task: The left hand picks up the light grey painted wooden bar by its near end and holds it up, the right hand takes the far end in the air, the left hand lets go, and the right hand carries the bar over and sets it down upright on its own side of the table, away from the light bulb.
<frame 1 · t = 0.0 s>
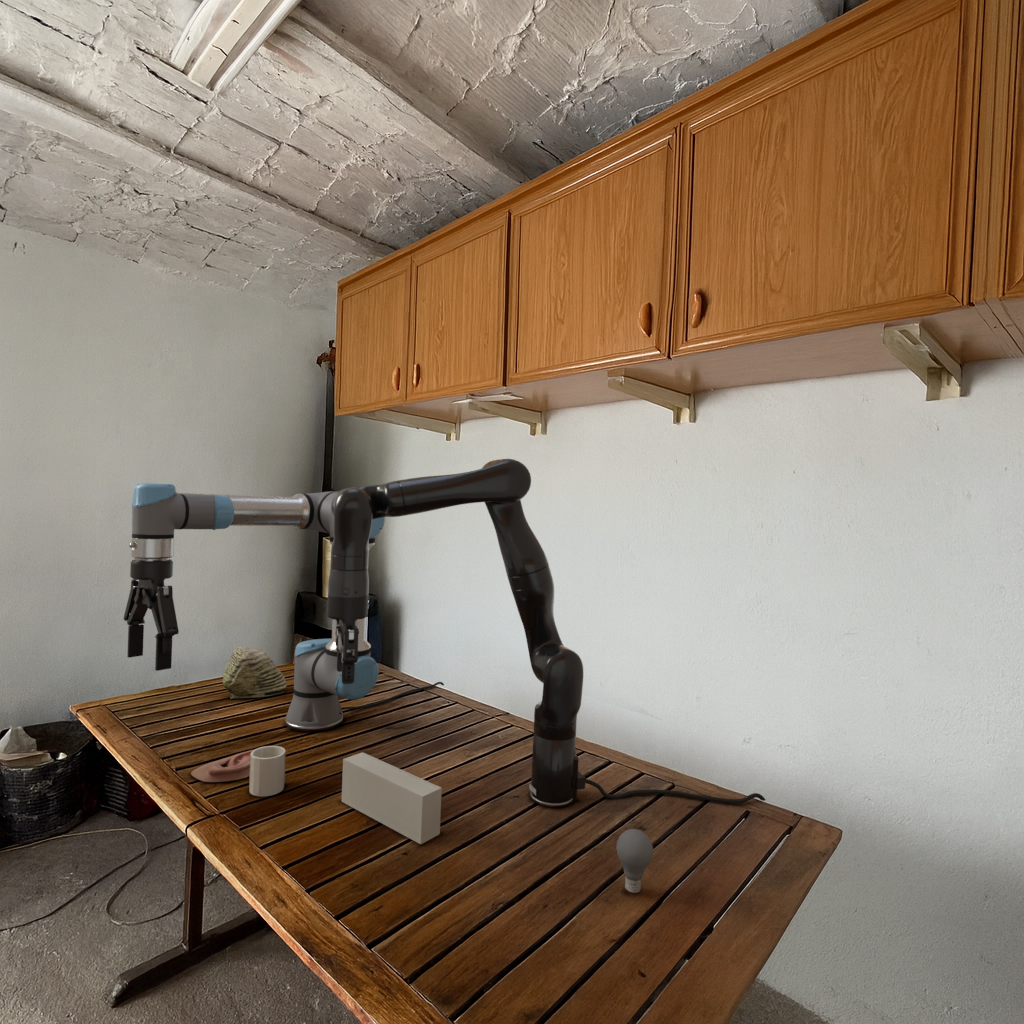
left hand: (148, 662, 129), 28 cm above the table, fingers open, 13 cm apart
right hand: (345, 677, 121), 29 cm above the table, fingers open, 8 cm apart
light bulb: (632, 891, 106), on the table
grey bar: (388, 817, 127), on the table
anatomical model: (225, 772, 143), on the table
white cup: (266, 788, 136), on the table
fossil: (254, 694, 198), on the table
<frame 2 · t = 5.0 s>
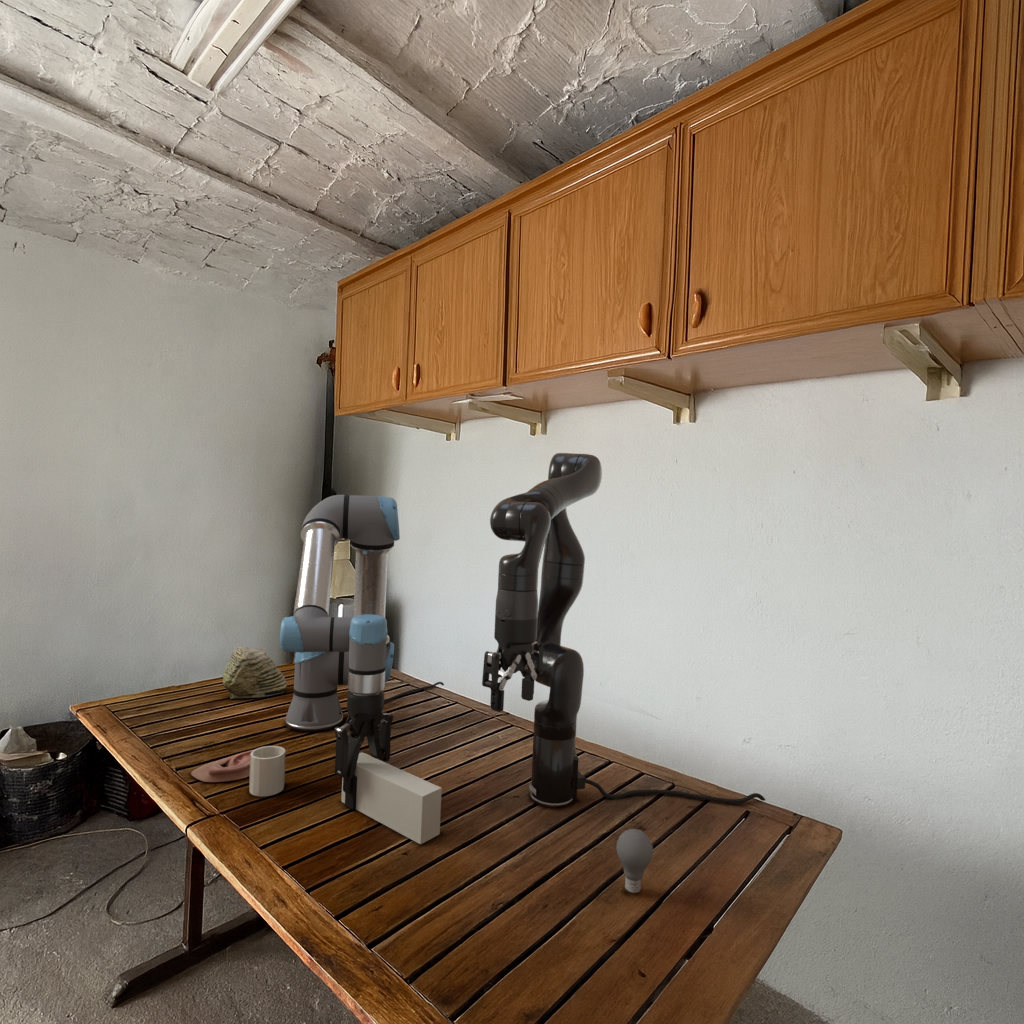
left hand: (361, 801, 132), 0 cm above the table, fingers closed on grey bar, 5 cm apart
right hand: (512, 705, 112), 28 cm above the table, fingers open, 8 cm apart
grey bar: (388, 817, 127), on the table, touching left hand
everything else where it was.
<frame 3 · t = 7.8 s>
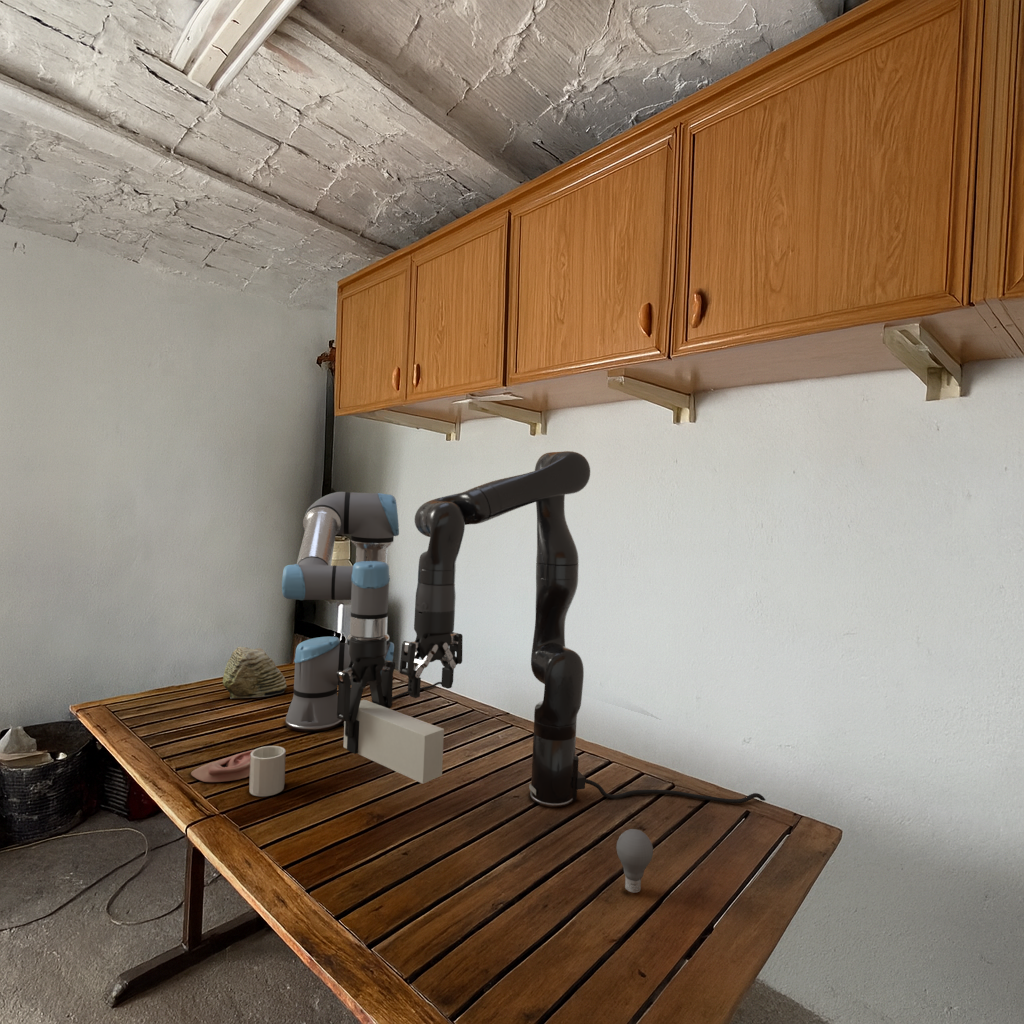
left hand: (363, 747, 132), 12 cm above the table, fingers closed on grey bar, 5 cm apart
right hand: (430, 692, 120), 27 cm above the table, fingers open, 8 cm apart
grey bar: (390, 760, 126), point 11 cm above the table, touching left hand
everything else where it was.
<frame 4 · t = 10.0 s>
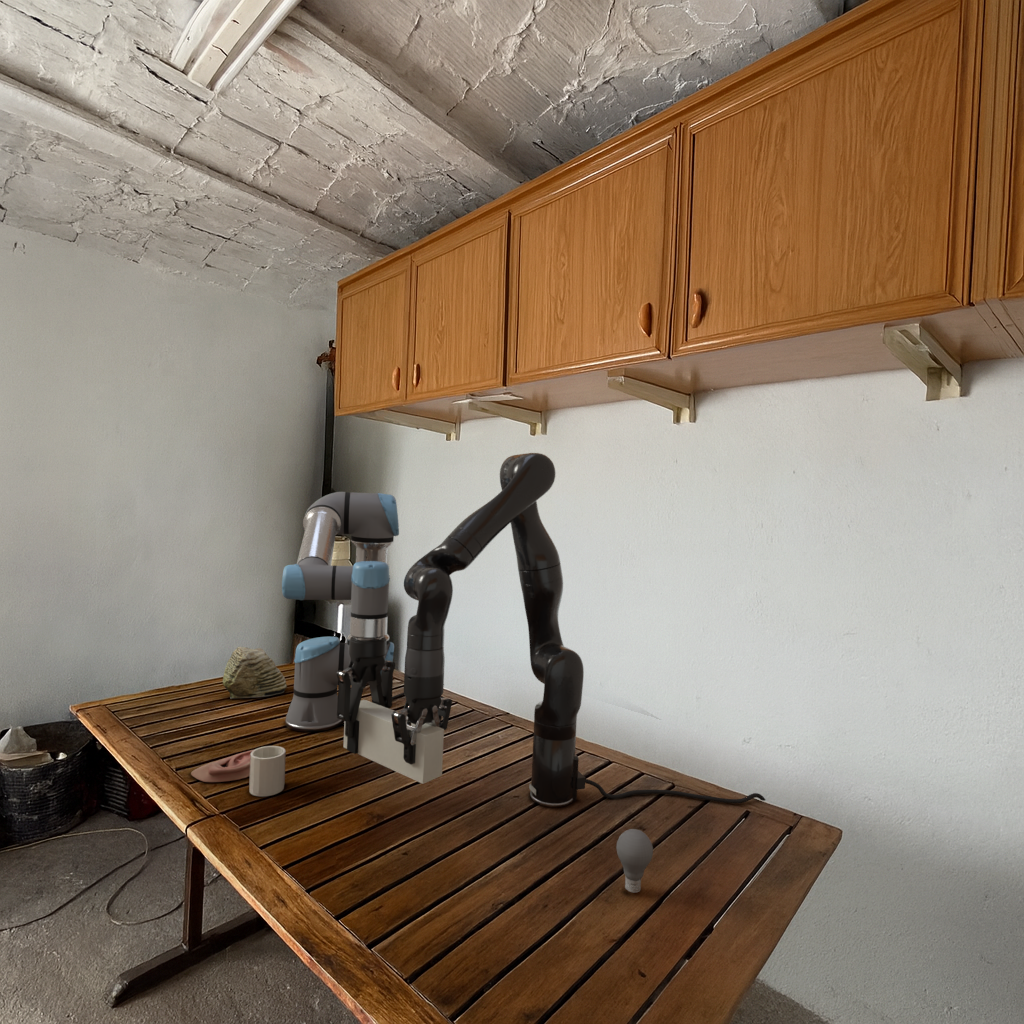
left hand: (363, 747, 132), 12 cm above the table, fingers closed on grey bar, 5 cm apart
right hand: (420, 758, 121), 14 cm above the table, fingers closed on grey bar, 5 cm apart
grey bar: (390, 760, 126), point 11 cm above the table, touching left hand, right hand
everything else where it was.
when the left hand's fingers open (12 cm above the table, at t = 10.9 s): grey bar stays where it is, held by the right hand.
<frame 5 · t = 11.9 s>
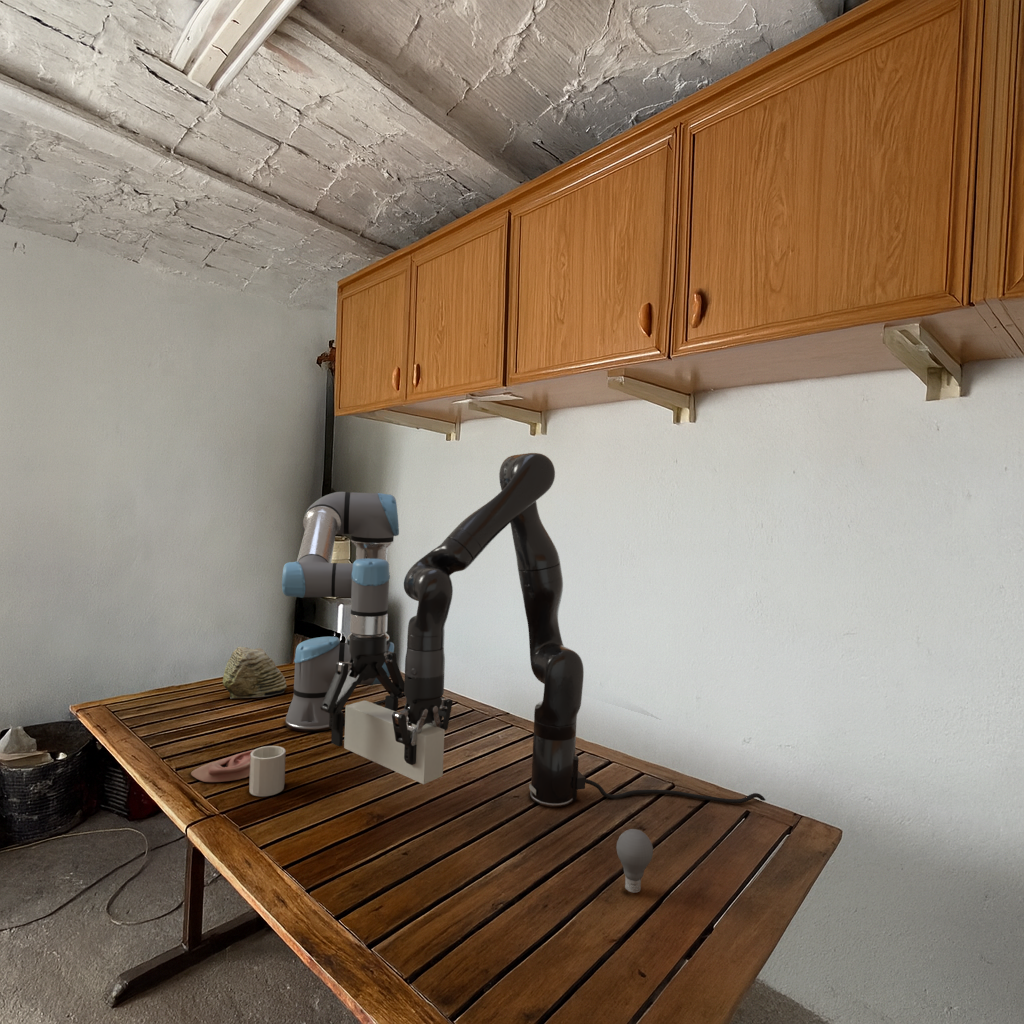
left hand: (364, 735, 132), 14 cm above the table, fingers open, 13 cm apart
right hand: (421, 758, 121), 14 cm above the table, fingers closed on grey bar, 5 cm apart
grey bar: (391, 761, 126), point 11 cm above the table, touching right hand
everything else where it was.
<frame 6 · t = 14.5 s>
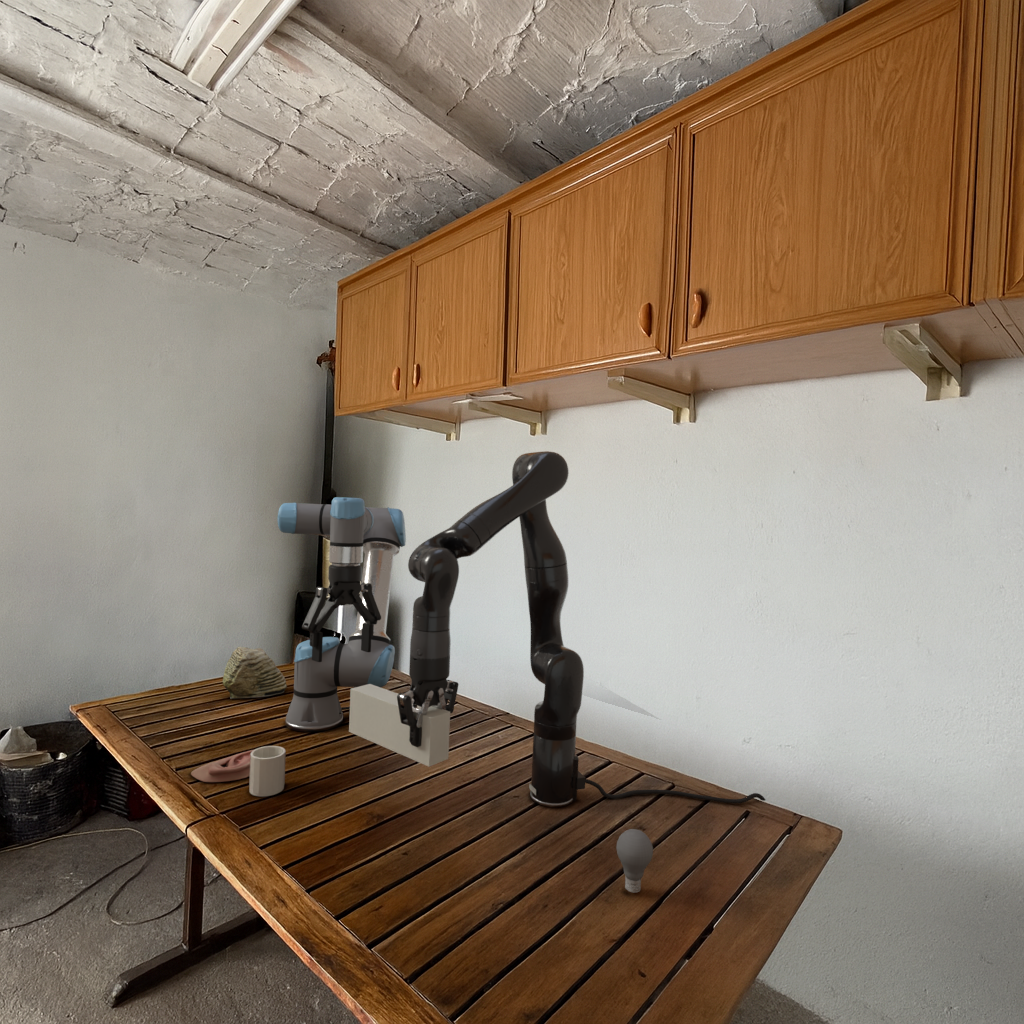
left hand: (342, 656, 146), 27 cm above the table, fingers open, 13 cm apart
right hand: (426, 741, 119), 18 cm above the table, fingers closed on grey bar, 5 cm apart
grey bar: (396, 744, 125), point 15 cm above the table, touching right hand
everything else where it was.
when the right hand's fingers open (4 cm above the table, at t = 19.1 s): grey bar drops 1 cm, on the table.
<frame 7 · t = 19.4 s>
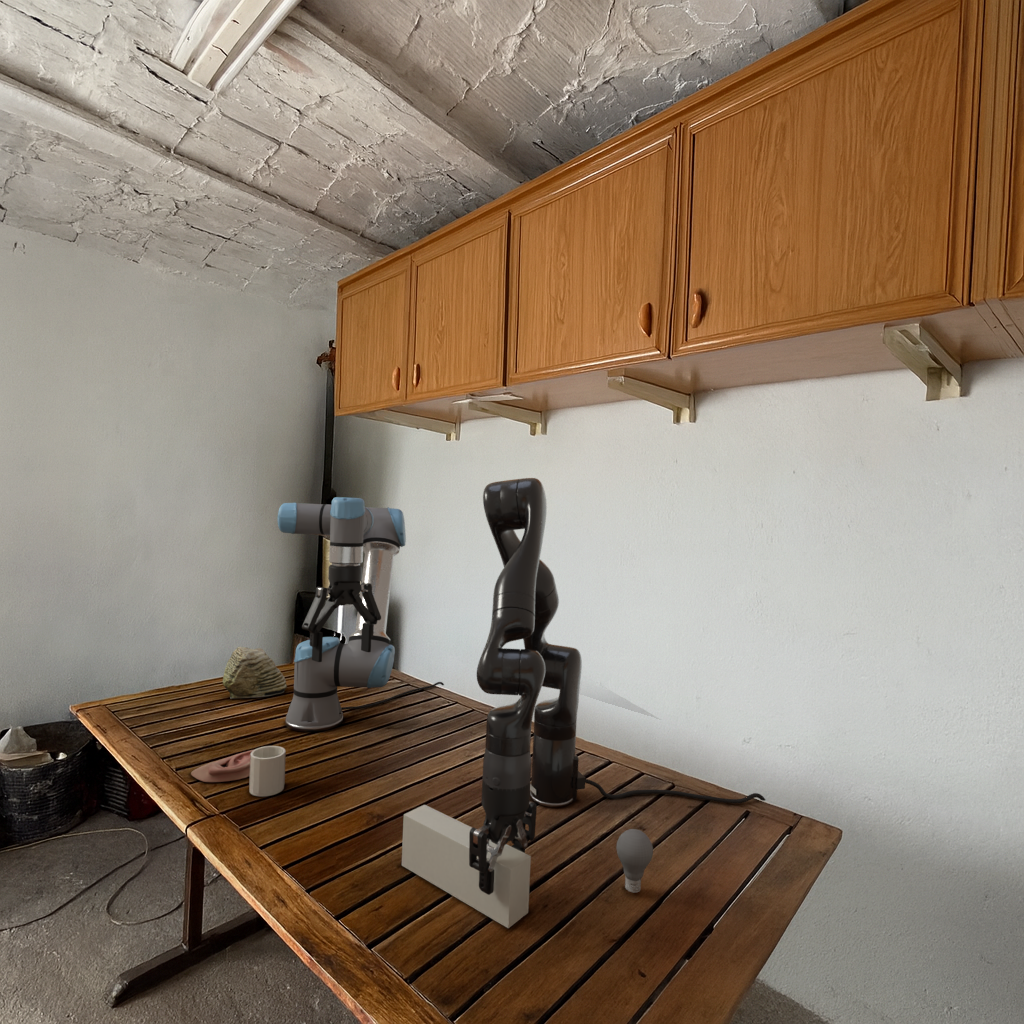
left hand: (342, 656, 146), 27 cm above the table, fingers open, 13 cm apart
right hand: (502, 880, 99), 5 cm above the table, fingers open, 7 cm apart
grey bar: (461, 887, 105), on the table
everything else where it was.
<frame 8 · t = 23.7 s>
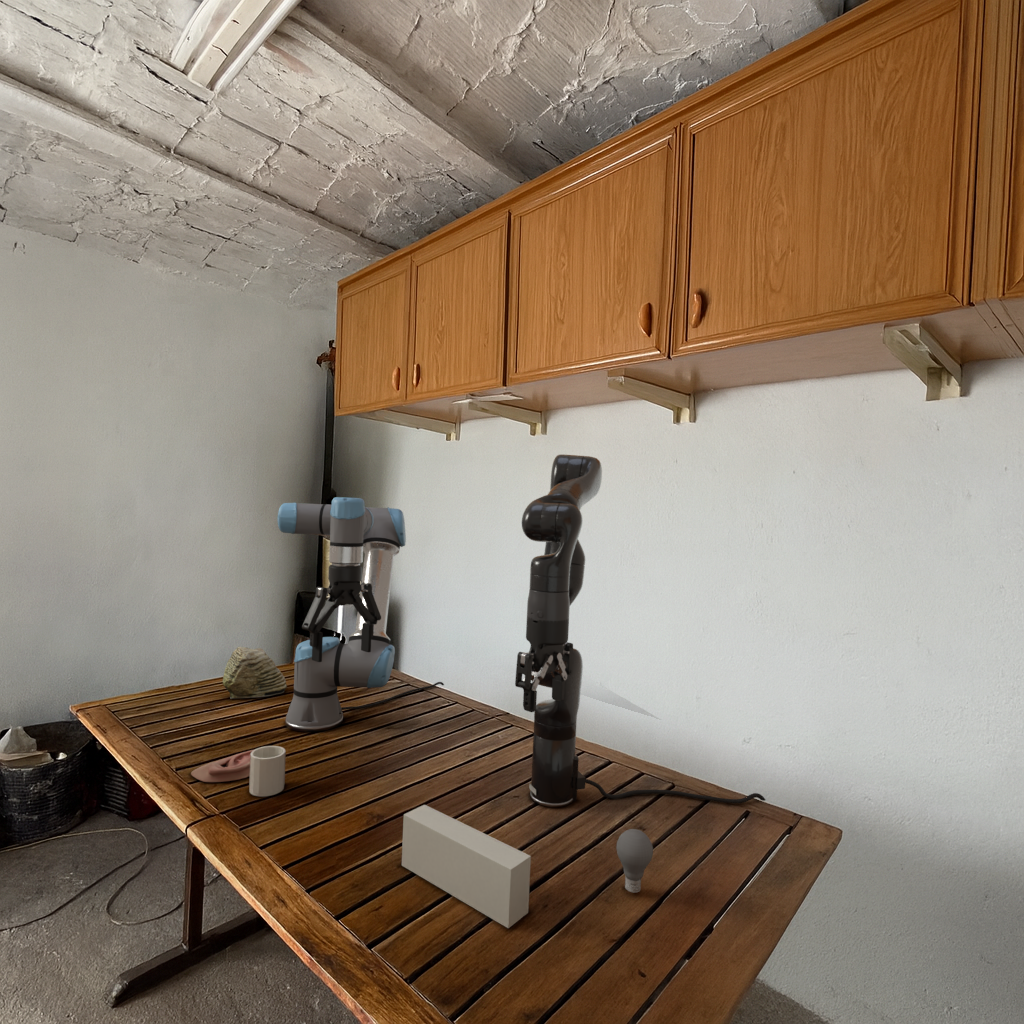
left hand: (342, 656, 146), 27 cm above the table, fingers open, 13 cm apart
right hand: (543, 705, 113), 28 cm above the table, fingers open, 8 cm apart
nothing on the table moved.
at the end: grey bar inside the target area (0.1 cm from its centre), on the table; both hands held the grey bar at the same time; the left hand is holding nothing; the right hand is holding nothing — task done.
